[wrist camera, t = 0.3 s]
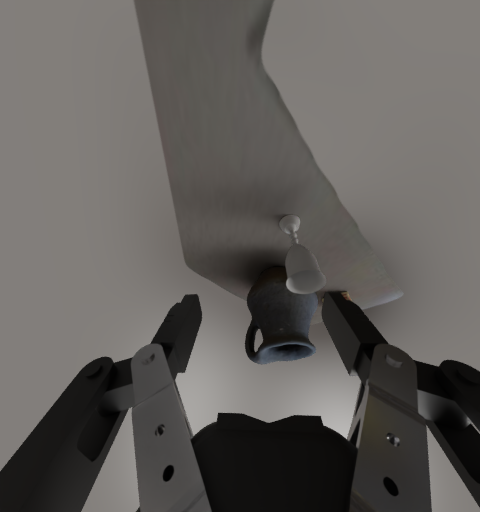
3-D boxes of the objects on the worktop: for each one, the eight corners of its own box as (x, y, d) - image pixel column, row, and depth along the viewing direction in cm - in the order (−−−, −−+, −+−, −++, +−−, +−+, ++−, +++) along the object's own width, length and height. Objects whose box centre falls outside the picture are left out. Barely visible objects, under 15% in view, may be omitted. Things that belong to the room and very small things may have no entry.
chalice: (307, 228, 45) (330, 288, 32) (281, 238, 47) (293, 297, 35) (298, 205, 40) (321, 264, 28) (271, 218, 43) (280, 277, 30)
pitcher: (316, 284, 61) (343, 366, 44) (260, 299, 70) (264, 373, 52) (297, 246, 49) (323, 339, 32) (232, 270, 58) (224, 354, 40)
